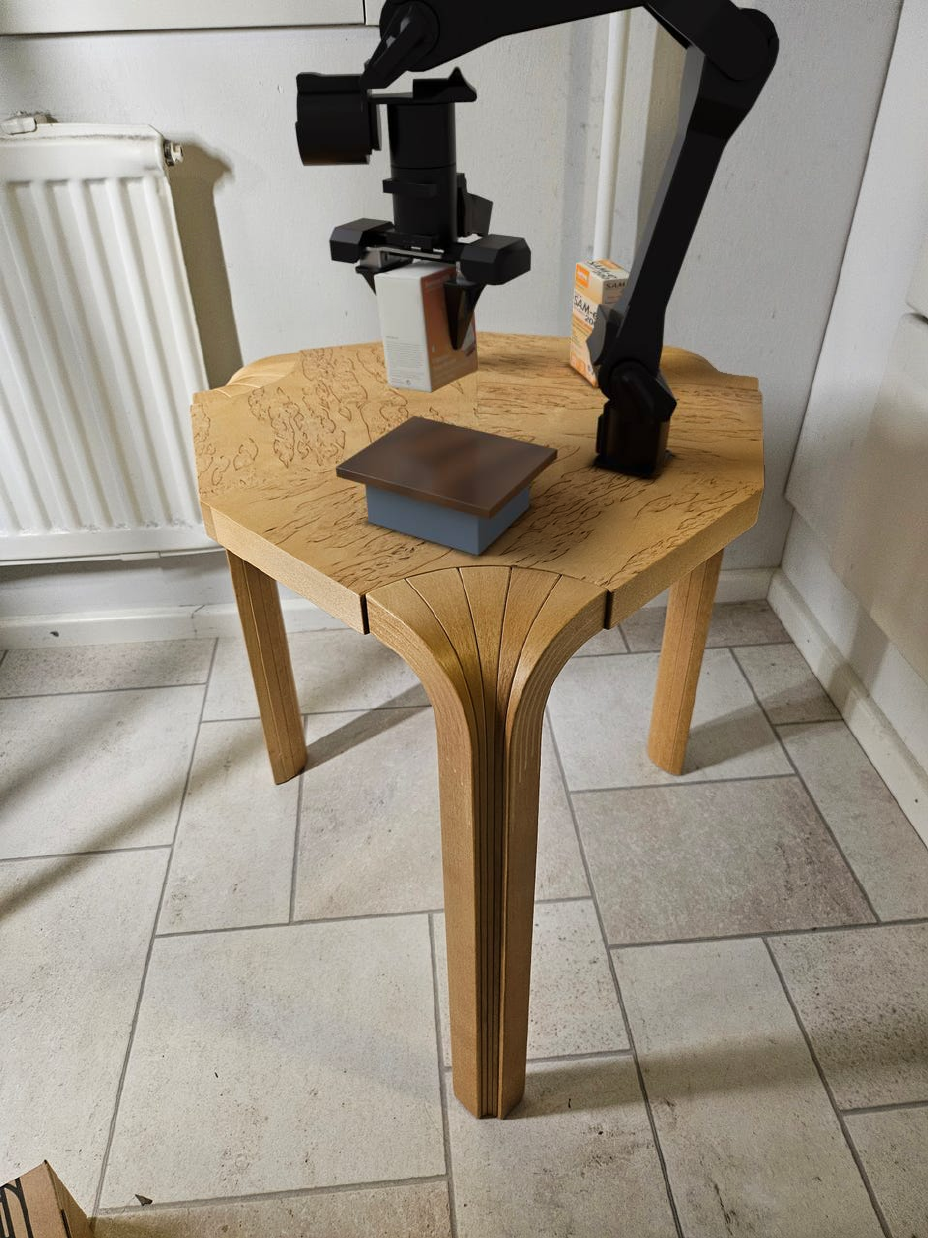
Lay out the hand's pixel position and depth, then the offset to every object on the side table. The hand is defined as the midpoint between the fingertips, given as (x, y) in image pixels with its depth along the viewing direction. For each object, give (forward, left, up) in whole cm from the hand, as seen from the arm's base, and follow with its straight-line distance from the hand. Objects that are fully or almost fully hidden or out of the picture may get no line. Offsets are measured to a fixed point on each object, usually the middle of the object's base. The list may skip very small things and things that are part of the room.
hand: (431, 343), depth 83 cm
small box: (0, 0, -4) cm, 4 cm away
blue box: (-7, +8, -13) cm, 17 cm away
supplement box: (-5, -32, -13) cm, 34 cm away
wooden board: (-7, +8, -8) cm, 13 cm away
